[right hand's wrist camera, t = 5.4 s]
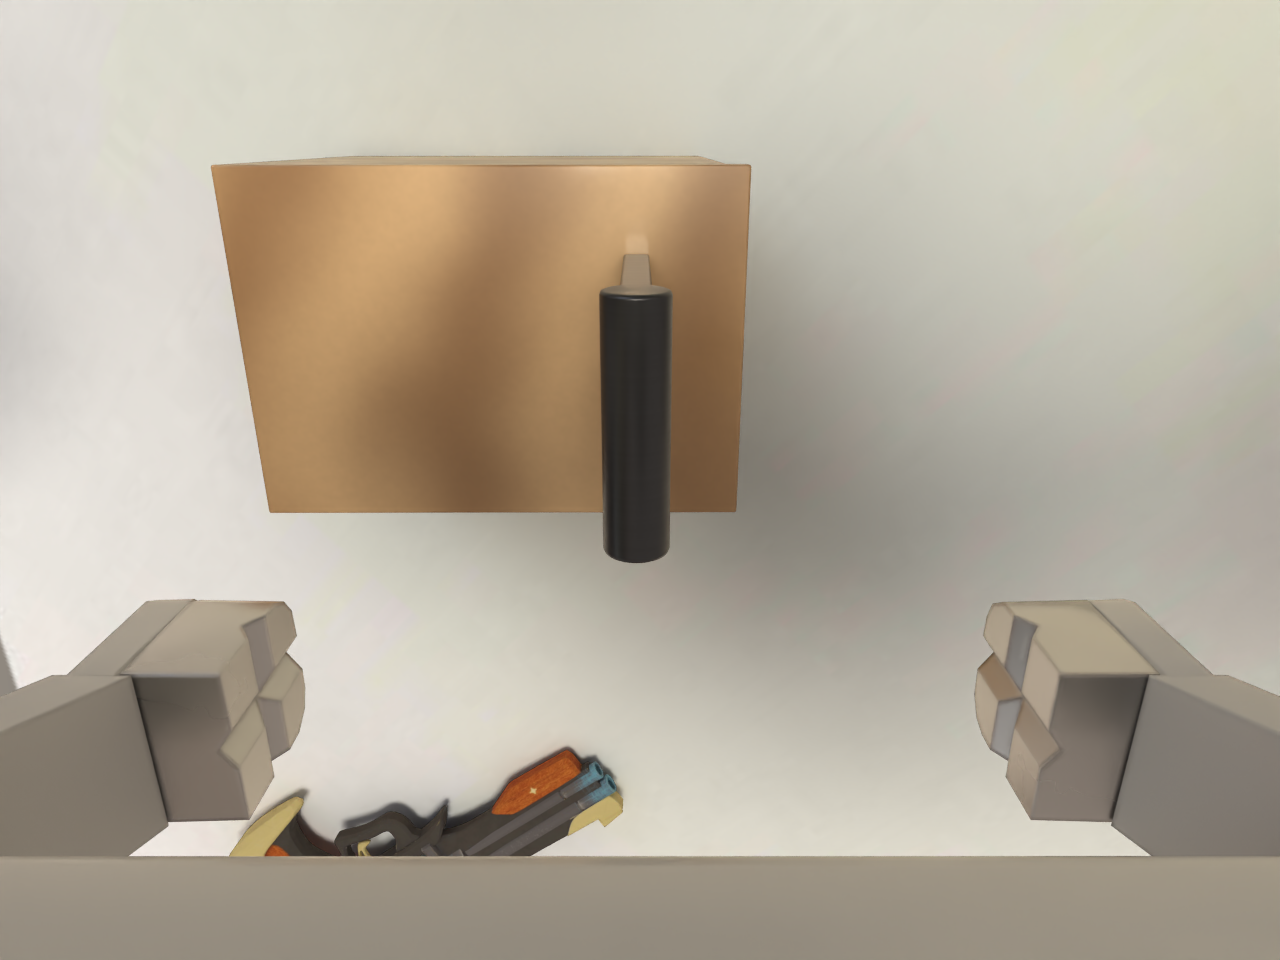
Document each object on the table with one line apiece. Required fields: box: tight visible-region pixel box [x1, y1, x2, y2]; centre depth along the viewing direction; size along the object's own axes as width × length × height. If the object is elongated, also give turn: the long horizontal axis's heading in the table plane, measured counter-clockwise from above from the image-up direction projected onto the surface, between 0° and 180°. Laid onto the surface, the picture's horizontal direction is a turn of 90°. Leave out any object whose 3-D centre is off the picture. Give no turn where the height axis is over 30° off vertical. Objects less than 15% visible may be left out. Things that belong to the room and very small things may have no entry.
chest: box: [237, 156, 724, 164], centre depth 31 cm, size 14×10×11 cm
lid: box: [211, 164, 751, 563], centre depth 21 cm, size 14×10×8 cm
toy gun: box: [229, 750, 623, 856], centre depth 45 cm, size 3×19×10 cm
